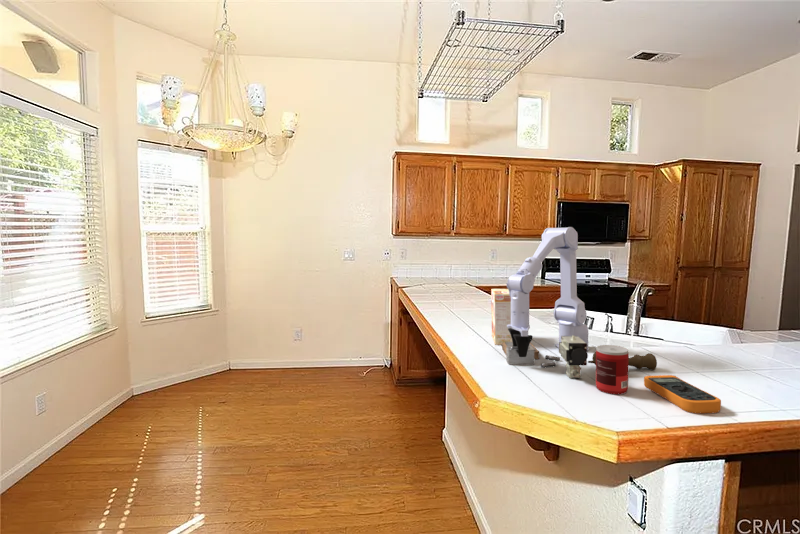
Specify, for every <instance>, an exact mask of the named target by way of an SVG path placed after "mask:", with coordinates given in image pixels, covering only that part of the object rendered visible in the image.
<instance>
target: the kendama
mask: <svg viewBox="0 0 800 534" xmlns="http://www.w3.org/2000/svg"><path fill="white" fill-rule="evenodd" d="M587 363H588V364H594V365H595V366H596V350H595V351H594V353H593V355H592V360H587ZM657 365H658V362H657V358H656V356H655V354H653V353H651V352H648V353H645V355H640V354H638V353H637V354H634V355H633V356H632V357H630V356H629V364H628V367H629V366H630V367H634V368H636V369H637V370H642V369H648V370H650V371H655V370H656V368H657Z"/></svg>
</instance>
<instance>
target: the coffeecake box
mask: <svg viewBox="0 0 800 534" xmlns="http://www.w3.org/2000/svg"><path fill="white" fill-rule="evenodd" d="M490 293H491V294H490V295H491V301H490V302H491V303H490V304H491V308H490V309H491V337H492V341H493V342H494V345H495V346H502V342H512V338H511V334H510V332H509V330H508V327H507V325H510V324H511V297H510V295H509V290H508V288H491V290H490Z"/></svg>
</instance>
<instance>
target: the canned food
mask: <svg viewBox="0 0 800 534" xmlns="http://www.w3.org/2000/svg"><path fill="white" fill-rule="evenodd" d="M595 351H596V365H595V386H596V389H597V390H598V391H599V392H602V393H604V394H608V395H623V394H626V393H627V392H628V389H629V366H628V364H629V358H630V356H629V355H630V353H629V348H628V347H624V346H620V345H614V344H600V345H598V346H596V349H595Z"/></svg>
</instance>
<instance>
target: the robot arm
mask: <svg viewBox="0 0 800 534" xmlns="http://www.w3.org/2000/svg"><path fill="white" fill-rule="evenodd" d="M578 237H579V235H578V231H576V229H575V228H574V227H573V226H568V227H547V228H545V229H544V230H543V233H542V234H541V242H540V243H539V244H538V247H537V248H536V250H535V251H534V253H533V255H532V256H530V257H529V256H528V257H526V258H525V260H524V261H523V262H522V265H520V267H519V268H518V270H517V271H516V273H513V274H511V275H510V276H509V277H508V279H507V282H506V289H508V290H509V295H510V297H511V324H510V325H507V327H508V330H509V332H510V334H511V338H512V342H513V346H517V349H518V355H519V357H526V355H527V351H528V347H529V344H530V342H531V341H532V340H533V338H534V336H533V335H531V334H529V330H530V329H531V326H530V292H531V291H532V290H534V286H535V282H536V277H537V276H538V275H539V273H540V272H541V271H542V269H543V264H542V263H543V262H544V261H545V259H546V258H547V257H548V256H549V254H550V253H551V252H552V251H553V250H556V251H557V252H558V253H559V256H560V257H559V261H560V263H559V265H560V267H559V269H560V270H559V271H560V272H559V273H560V297H559V298H558V299H557V300H556V301H555V302H554V308H553V317H554V320H556V323H557V324H558V343H554V344H555V347H557V348H558V349H559V342H561V336H572V335H574V336H578V337H579V338H580V339H582V340H583V341H584V342H585V343H587V352H588V351H590V349H589V327H588V326H587V324H585V322H586V320H587V311H586V308H585V307H586V306H585V302H584V301H582V300H581V299H580V298H579V297H578V293H577V290H578V289H577V288H578V287H577V285H578V284H577V276H578V275H577V250H578V249H579V247H578V246H579V245H578V244H579V243H578V242H579V241H578V239H579V238H578ZM531 343H532V342H531Z"/></svg>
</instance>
